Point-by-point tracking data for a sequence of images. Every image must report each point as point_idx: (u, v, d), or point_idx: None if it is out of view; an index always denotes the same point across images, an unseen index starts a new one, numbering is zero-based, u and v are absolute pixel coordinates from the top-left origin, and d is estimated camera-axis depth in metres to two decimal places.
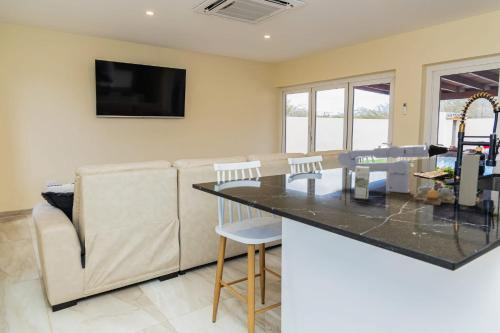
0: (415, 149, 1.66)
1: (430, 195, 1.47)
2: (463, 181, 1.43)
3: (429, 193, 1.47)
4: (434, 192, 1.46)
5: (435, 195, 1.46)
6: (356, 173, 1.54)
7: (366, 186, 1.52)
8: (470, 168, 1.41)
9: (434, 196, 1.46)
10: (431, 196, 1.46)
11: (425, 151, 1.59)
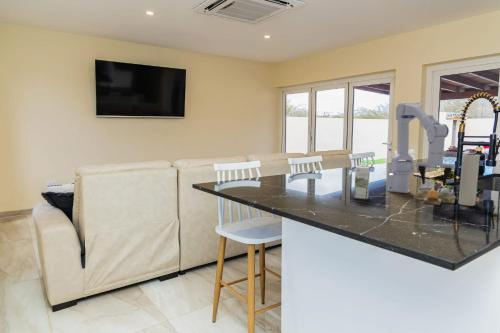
0: (428, 153, 1.46)
1: (430, 195, 1.47)
2: (463, 181, 1.43)
3: (429, 193, 1.47)
4: (434, 192, 1.46)
5: (435, 195, 1.46)
6: (356, 173, 1.54)
7: (366, 186, 1.52)
8: (470, 168, 1.41)
9: (434, 196, 1.46)
10: (431, 196, 1.46)
11: (416, 164, 1.50)
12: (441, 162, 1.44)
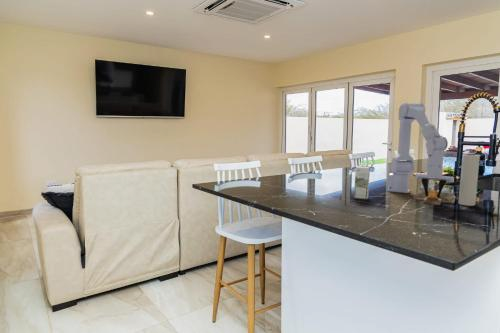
0: (427, 166, 1.47)
1: (430, 195, 1.47)
2: (463, 181, 1.43)
3: (429, 193, 1.47)
4: (434, 192, 1.46)
5: (435, 195, 1.46)
6: (356, 173, 1.54)
7: (366, 186, 1.52)
8: (470, 168, 1.41)
9: (434, 196, 1.46)
10: (431, 196, 1.46)
11: (415, 176, 1.51)
12: (440, 175, 1.44)
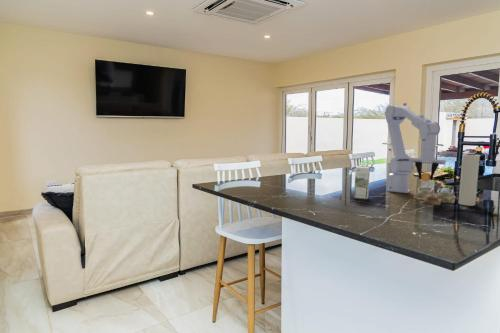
0: (421, 150, 1.55)
1: (423, 177, 1.55)
2: (463, 181, 1.43)
3: (422, 176, 1.55)
4: (427, 174, 1.54)
5: (428, 177, 1.54)
6: (356, 173, 1.54)
7: (366, 186, 1.52)
8: (470, 168, 1.41)
9: (427, 178, 1.54)
10: (424, 178, 1.55)
11: None
12: (433, 158, 1.52)
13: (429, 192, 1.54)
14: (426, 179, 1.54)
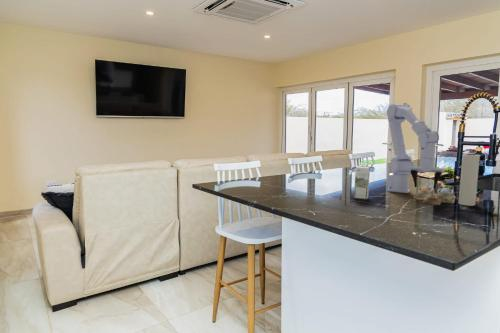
0: (420, 158, 1.56)
1: None
2: (463, 181, 1.43)
3: None
4: (426, 190, 1.55)
5: None
6: (356, 173, 1.54)
7: (366, 186, 1.52)
8: (470, 168, 1.41)
9: None
10: None
11: (408, 168, 1.60)
12: (432, 166, 1.53)
13: (429, 192, 1.54)
14: None
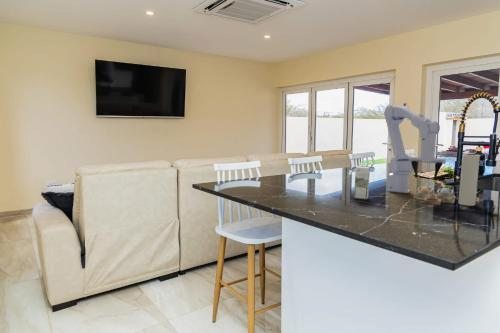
0: (421, 149, 1.55)
1: None
2: (463, 181, 1.43)
3: None
4: (426, 190, 1.55)
5: None
6: (356, 173, 1.54)
7: (366, 186, 1.52)
8: (470, 168, 1.41)
9: None
10: None
11: (409, 159, 1.59)
12: (432, 157, 1.53)
13: (429, 192, 1.54)
14: None
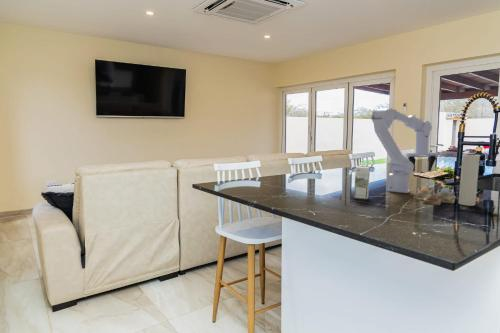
0: (417, 145, 1.74)
1: None
2: (463, 181, 1.43)
3: None
4: (426, 190, 1.55)
5: None
6: (356, 173, 1.54)
7: (366, 186, 1.52)
8: (470, 168, 1.41)
9: None
10: None
11: (406, 155, 1.77)
12: None
13: (429, 192, 1.54)
14: None
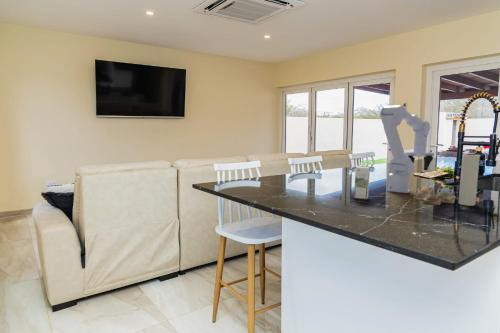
0: (416, 145, 1.77)
1: None
2: (463, 181, 1.43)
3: None
4: (426, 190, 1.55)
5: None
6: (356, 173, 1.54)
7: (366, 186, 1.52)
8: (470, 168, 1.41)
9: None
10: None
11: (406, 154, 1.78)
12: (425, 151, 1.77)
13: (429, 192, 1.54)
14: None
